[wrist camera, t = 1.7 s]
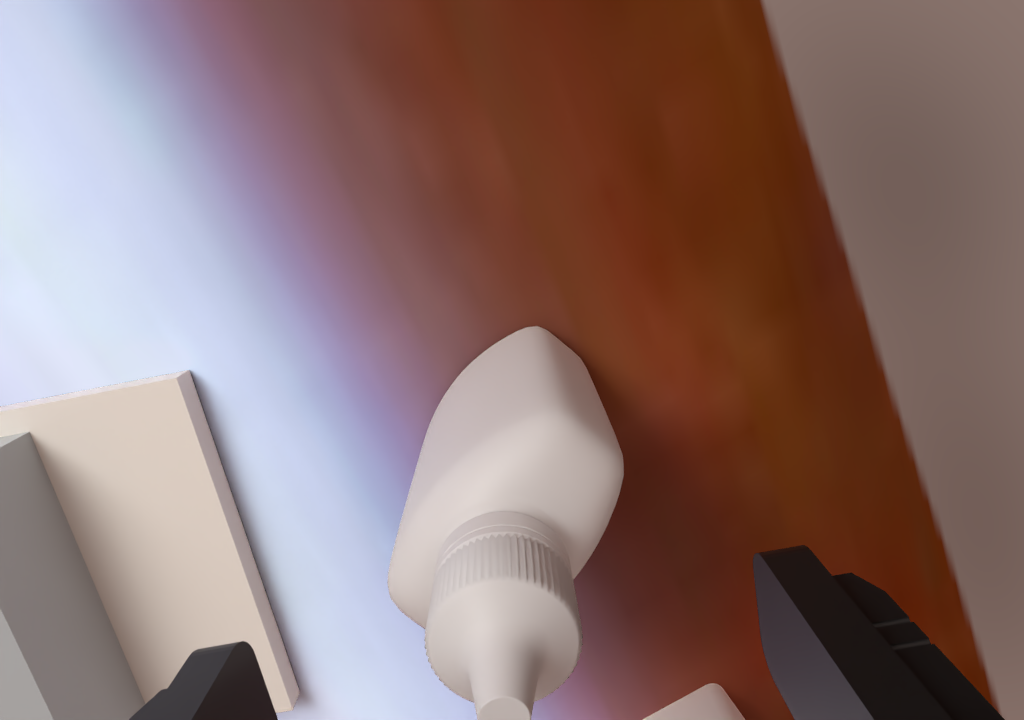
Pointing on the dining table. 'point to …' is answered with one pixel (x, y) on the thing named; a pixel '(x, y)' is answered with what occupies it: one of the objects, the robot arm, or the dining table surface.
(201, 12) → the dining table surface
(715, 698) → the holder
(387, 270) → the dining table surface
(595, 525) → the eye dropper bottle
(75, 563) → the holder stand
